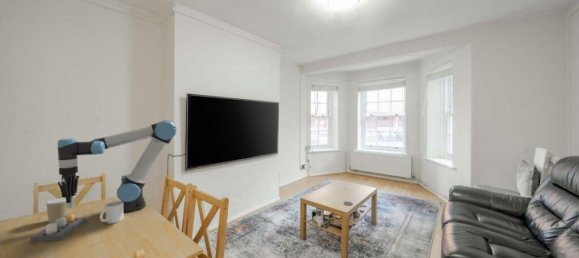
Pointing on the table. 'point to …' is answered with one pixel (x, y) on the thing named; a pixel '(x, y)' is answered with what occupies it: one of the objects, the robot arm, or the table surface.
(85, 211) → the table surface
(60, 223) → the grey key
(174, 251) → the table surface
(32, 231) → the table surface
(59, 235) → the panel
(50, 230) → the white rounded block
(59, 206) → the coffee cup
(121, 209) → the mug
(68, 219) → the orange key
